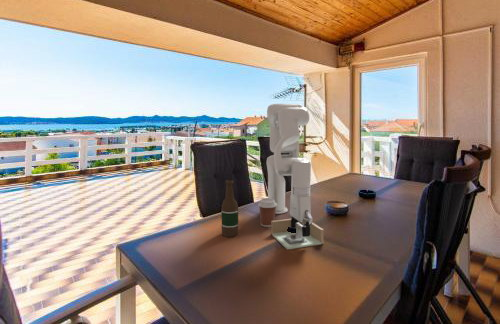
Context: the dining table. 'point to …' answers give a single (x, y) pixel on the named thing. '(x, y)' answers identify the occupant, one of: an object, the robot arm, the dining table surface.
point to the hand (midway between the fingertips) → (300, 231)
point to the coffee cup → (267, 211)
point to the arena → (281, 228)
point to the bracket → (298, 235)
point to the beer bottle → (229, 212)
